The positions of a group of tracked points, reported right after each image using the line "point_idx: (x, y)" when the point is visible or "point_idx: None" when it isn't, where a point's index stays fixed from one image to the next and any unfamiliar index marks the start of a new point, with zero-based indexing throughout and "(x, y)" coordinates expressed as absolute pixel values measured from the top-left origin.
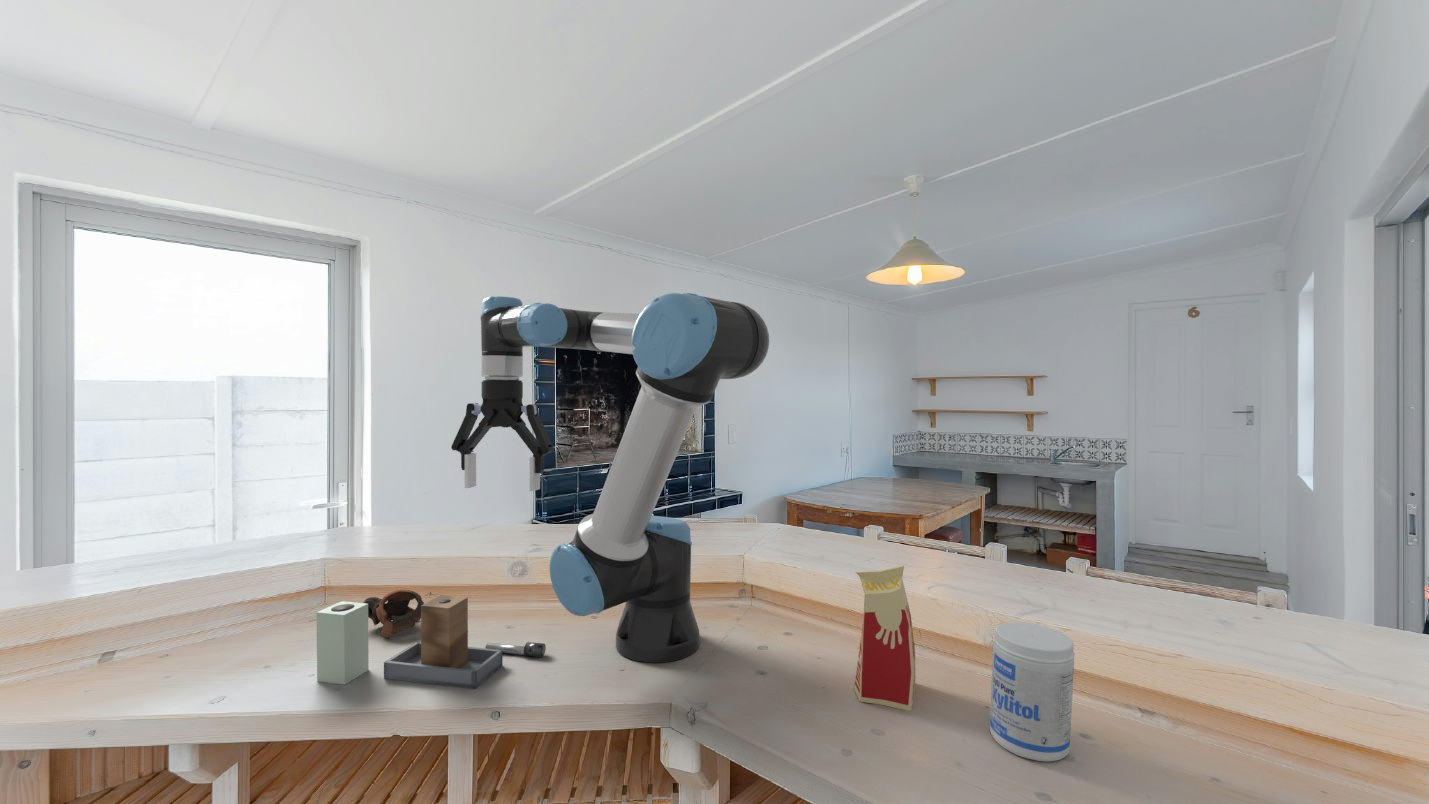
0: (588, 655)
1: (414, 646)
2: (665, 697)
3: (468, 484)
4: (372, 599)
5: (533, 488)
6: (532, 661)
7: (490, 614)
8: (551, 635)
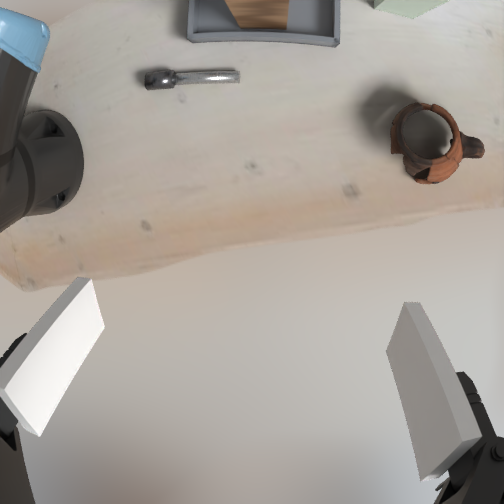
0: (99, 105)
1: (334, 30)
2: None
3: (408, 315)
4: (474, 145)
5: (72, 285)
6: (159, 65)
7: (309, 211)
8: (172, 149)
